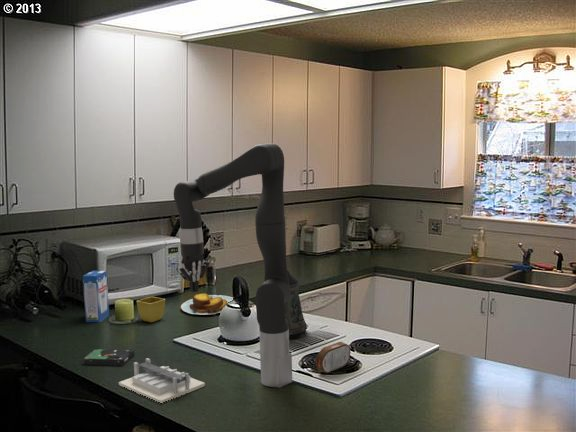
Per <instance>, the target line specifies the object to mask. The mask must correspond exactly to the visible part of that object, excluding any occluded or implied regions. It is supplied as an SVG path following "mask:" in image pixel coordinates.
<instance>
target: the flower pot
mask: <svg viewBox="0 0 576 432" xmlns="http://www.w3.org/2000/svg"><path fill="white" fill-rule="evenodd" d="M136 306H137V313H138V314H139V316H140V318H141V319H142V320H143V321H144V322H148V323H154V322H157V321H160V320H161V319H162V317H163V316H164V313H165V307H166V298H161V297H156V296H148V297H144V298H141V299H138V300H136Z"/></svg>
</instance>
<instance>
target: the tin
mask: <svg viewBox="0 0 576 432" xmlns="http://www.w3.org/2000/svg"><path fill="white" fill-rule="evenodd" d="M350 359H351V347H350V345H349V344H347V343H344V342H343V341H338V342H335V343H332V344H330V345H327V346H324V347H322V348H321V349H320V350H319V352H318V353H317V355H316V360H315V367H316V369H317V371H319V372H322V373H325V374H329V372H330V373H331V371H332V372H334V371H336V370H340V369H341V368H344V367H346V366H347V365H348V363H349V361H350Z"/></svg>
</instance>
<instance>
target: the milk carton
mask: <svg viewBox="0 0 576 432" xmlns="http://www.w3.org/2000/svg"><path fill="white" fill-rule="evenodd" d="M107 273H108V272H107V270H92V271H90V272H87V273H86V274H83V275H82V283H83V298H84V299H83V300H84V311H85V313H84V314H85V323H101V322H102V321H104V320H105V319H107V318H108V317H109V316H110V303H109V288H108V274H107Z"/></svg>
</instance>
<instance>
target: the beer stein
mask: <svg viewBox="0 0 576 432" xmlns="http://www.w3.org/2000/svg"><path fill="white" fill-rule="evenodd" d="M287 271H288V278H289V284H290V297H289V299H288V300H287V302H286V303H285V304H284V306H285V318H286V319H287V320H288V324H289V341H294V340H299V339H302V338H303V337H305V336H306V331H307V323H306V320H305V318H304V314H303V310H302V309H303V308H302V304H301V299H300V292H299V288H300V285H301V283H300V281H299V280H298V279H297V278H296V277H294V276H293V275H292V274H291V273H290V272H289V270H287Z"/></svg>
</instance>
